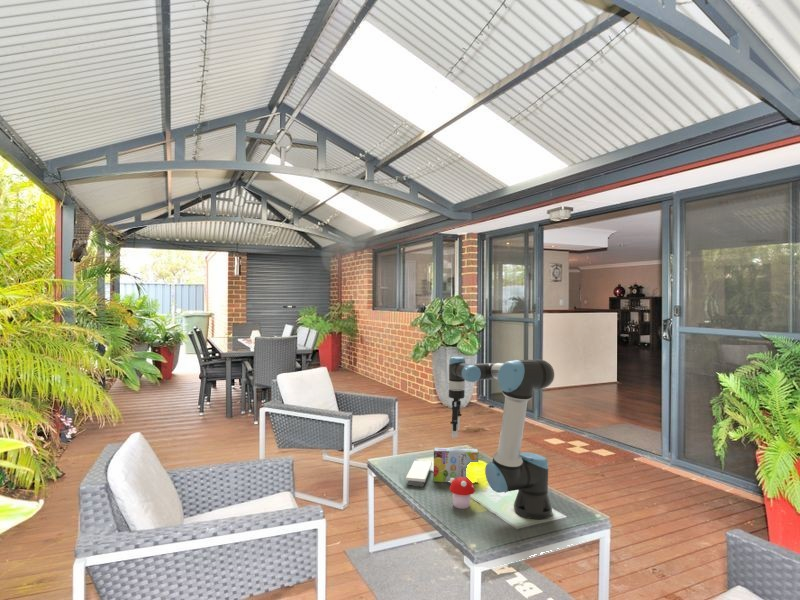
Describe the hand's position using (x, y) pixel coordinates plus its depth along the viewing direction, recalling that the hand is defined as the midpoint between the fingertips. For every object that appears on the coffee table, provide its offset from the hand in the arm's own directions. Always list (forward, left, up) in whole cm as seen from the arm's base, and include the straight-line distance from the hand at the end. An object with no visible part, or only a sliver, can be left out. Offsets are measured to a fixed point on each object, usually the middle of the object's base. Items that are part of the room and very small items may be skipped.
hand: (455, 433), depth 232 cm
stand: (0, +17, -23) cm, 29 cm away
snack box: (0, 0, -23) cm, 23 cm away
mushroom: (-27, -5, -23) cm, 36 cm away
